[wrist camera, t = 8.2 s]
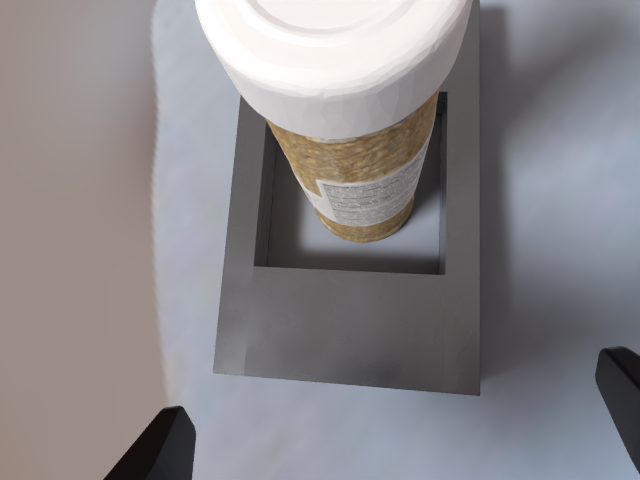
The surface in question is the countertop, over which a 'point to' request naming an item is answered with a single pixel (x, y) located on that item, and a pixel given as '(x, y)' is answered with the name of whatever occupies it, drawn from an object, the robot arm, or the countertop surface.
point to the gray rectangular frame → (359, 274)
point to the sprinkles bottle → (344, 94)
